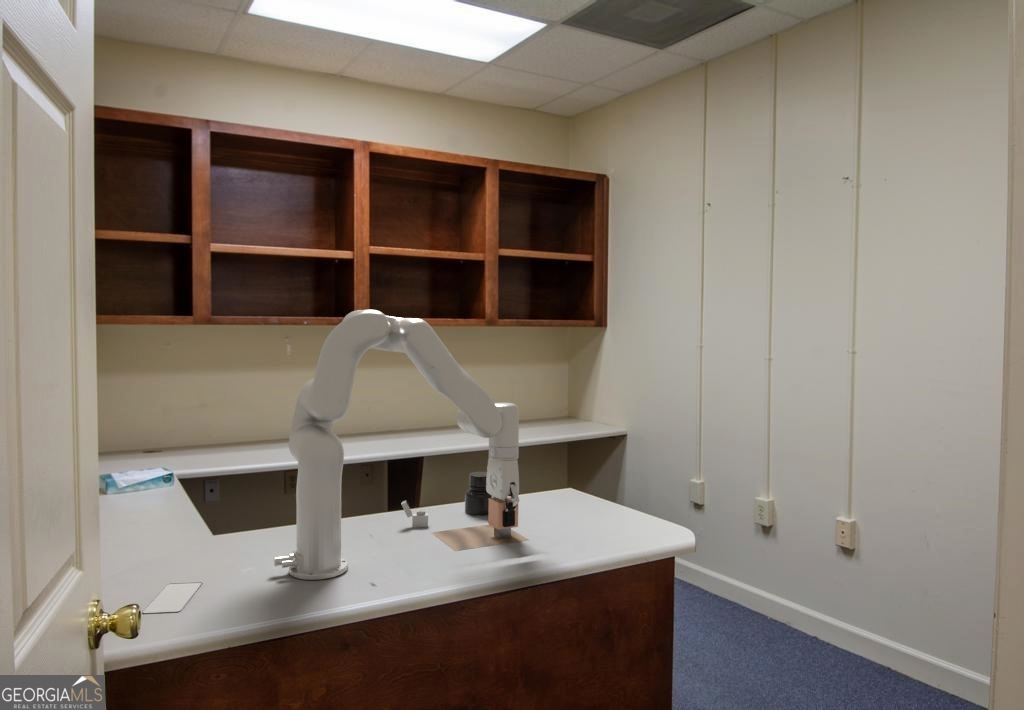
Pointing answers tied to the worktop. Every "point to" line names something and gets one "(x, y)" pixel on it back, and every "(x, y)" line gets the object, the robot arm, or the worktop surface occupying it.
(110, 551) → the worktop surface
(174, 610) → the smartphone
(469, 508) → the ink bottle
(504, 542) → the base board
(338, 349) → the robot arm
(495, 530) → the post
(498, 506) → the salmon orange block
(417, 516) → the lighter
